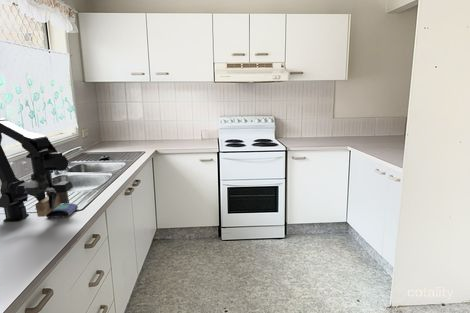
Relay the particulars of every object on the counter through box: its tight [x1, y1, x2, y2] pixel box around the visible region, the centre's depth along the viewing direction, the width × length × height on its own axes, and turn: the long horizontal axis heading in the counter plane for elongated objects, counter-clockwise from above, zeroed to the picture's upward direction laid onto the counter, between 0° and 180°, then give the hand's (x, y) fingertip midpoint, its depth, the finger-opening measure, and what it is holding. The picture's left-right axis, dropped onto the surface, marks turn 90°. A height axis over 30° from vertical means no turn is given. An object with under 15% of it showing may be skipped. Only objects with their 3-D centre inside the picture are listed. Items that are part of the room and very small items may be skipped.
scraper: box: [35, 190, 70, 218], centre depth 124 cm, size 13×8×6 cm, turn 0°
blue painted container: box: [45, 203, 79, 219], centre depth 134 cm, size 9×3×11 cm
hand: (48, 208), depth 123 cm, fingers closed on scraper, 2 cm apart
